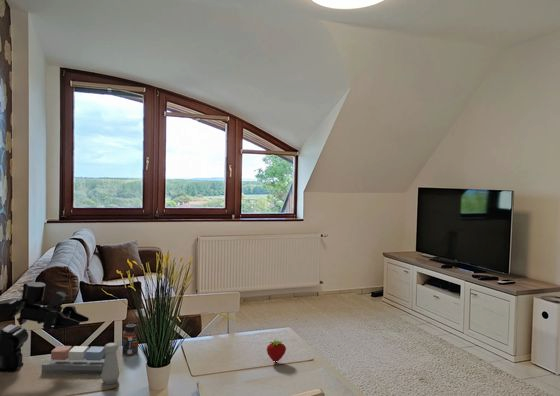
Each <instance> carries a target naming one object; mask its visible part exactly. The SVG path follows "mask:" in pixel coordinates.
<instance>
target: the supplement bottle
mask: <svg viewBox="0 0 560 396" xmlns="http://www.w3.org/2000/svg"><path fill="white" fill-rule="evenodd" d="M135 326H136V327H137V324H135V323H128V324H126V325H125V330H123V332H122V346H121V347H122V351H121V353H122V356H125V357H134V356H136V355H137V354H138V353H139V340H138V341H137V337H136V334H135V330H134V328H135Z"/></svg>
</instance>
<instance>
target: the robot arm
mask: <svg viewBox="0 0 560 396" xmlns="http://www.w3.org/2000/svg"><path fill="white" fill-rule="evenodd" d="M45 291H46V283H44V282H41V281H38V282H37V281H36V282H35V281H32V282H29V281H27V282H25V283H23V287H22V294H21V297H20V298H19V297H17V298H9V299H8V298H7V299H3V300H0V319H3V320H10V319H12V318H14V317H16V316H17V315H19V317H17V318H16V321H17V322H18V324H19V325H15V324H8V325H7V326H5V327H3V328H0V373H4V372H5V373H12V372H13V373H14V372H16V370H18V369H19V368H20V367H21V366H23V365H24V362H23V353H22V349H21V348H22V347H23V346H24V344H25V343H26V342H27V341H28V339H29V332H28V331H27V329H26V328H24V327H22V325H24V324H25V323H27V321H30V322H35V323H37V324H39V325H40V324H43V325H42V328H43V330H45V331H49V332H51V331H58V330H63V329H66V328H71V327H77V326H79V325H80V323H85V322H88V321H90V320H89V319H90V318H89V317H88V316H86V315H84V314H82V313H80V312H78V311H77V308H76V306H75V305H66V306H62V305H63V304H64V302H65V301H66V300H67V299H68V298H69V295H68V294H66V292H63V291H56V292H55V293H54V295H53V296H52V297H51V299H50V300H49V302H48V304H47V305H42V304H39V303H40V302H42V301H43V300H44V296H45Z"/></svg>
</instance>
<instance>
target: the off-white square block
mask: <svg viewBox="0 0 560 396" xmlns="http://www.w3.org/2000/svg"><path fill="white" fill-rule="evenodd" d="M88 349H89V345H88V346H86V345H85V346H84V345H79V346H78V345H74V346H72V349H71V350H70V351H69V355H68V360H84V358H85V357H86V351H87V350H88Z"/></svg>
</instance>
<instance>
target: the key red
mask: <svg viewBox="0 0 560 396" xmlns="http://www.w3.org/2000/svg"><path fill="white" fill-rule="evenodd" d="M72 348H73V346H72V345H57V346H55V348H53V349H52V350H51V352H50V360H51V361H52V360H66V359H67V358H68V355H69V351H70V350H71V349H72Z"/></svg>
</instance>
